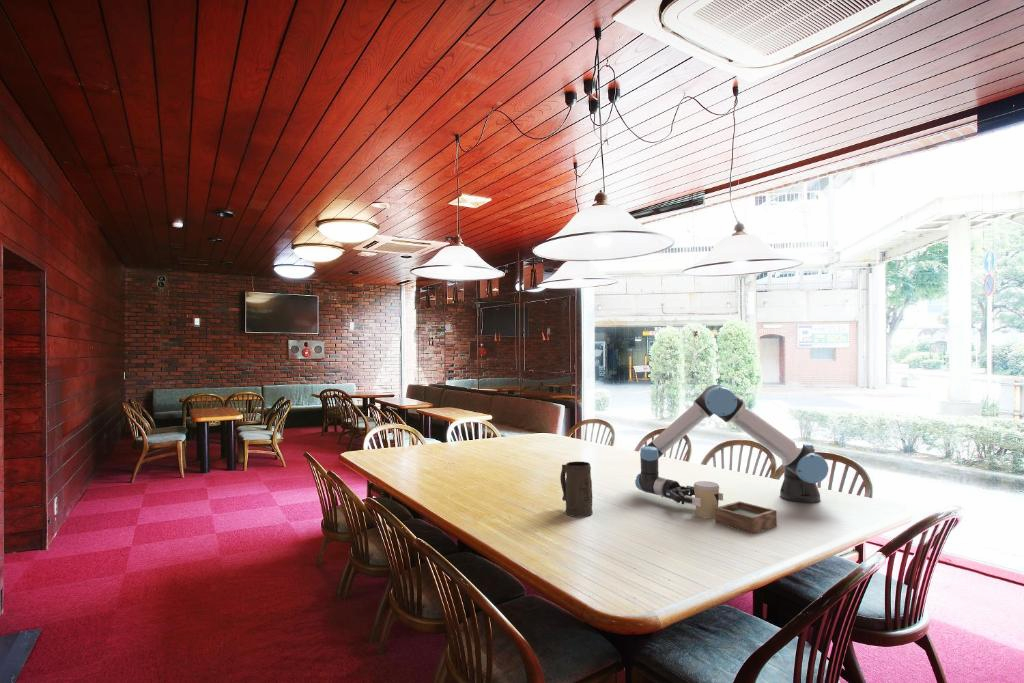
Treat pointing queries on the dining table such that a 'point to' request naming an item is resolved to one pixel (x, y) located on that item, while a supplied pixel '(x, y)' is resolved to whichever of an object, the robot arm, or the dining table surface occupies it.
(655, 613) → the dining table surface
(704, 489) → the coffee cup
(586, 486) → the beer stein
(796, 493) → the robot arm
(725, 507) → the wooden tray
